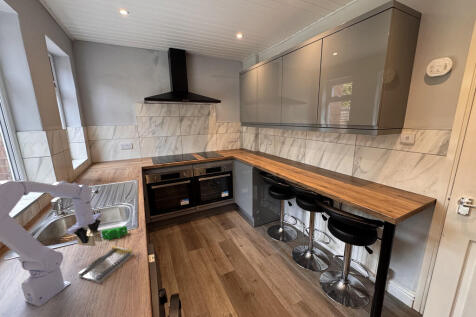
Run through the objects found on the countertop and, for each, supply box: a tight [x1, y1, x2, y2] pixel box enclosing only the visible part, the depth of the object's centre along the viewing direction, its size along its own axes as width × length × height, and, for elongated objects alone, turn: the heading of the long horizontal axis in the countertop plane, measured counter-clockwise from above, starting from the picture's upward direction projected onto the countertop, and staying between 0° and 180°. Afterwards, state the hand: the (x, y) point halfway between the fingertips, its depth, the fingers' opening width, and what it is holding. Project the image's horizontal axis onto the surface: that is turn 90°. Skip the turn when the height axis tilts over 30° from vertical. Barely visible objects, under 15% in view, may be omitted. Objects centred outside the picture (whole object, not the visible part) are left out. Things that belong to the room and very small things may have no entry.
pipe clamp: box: [101, 225, 129, 242], centre depth 100 cm, size 11×4×5 cm, turn 110°
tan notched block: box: [76, 229, 103, 247], centre depth 85 cm, size 8×4×5 cm, turn 80°
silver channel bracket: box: [77, 245, 134, 284], centre depth 81 cm, size 16×11×3 cm
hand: (89, 239), depth 85 cm, fingers closed on tan notched block, 4 cm apart
